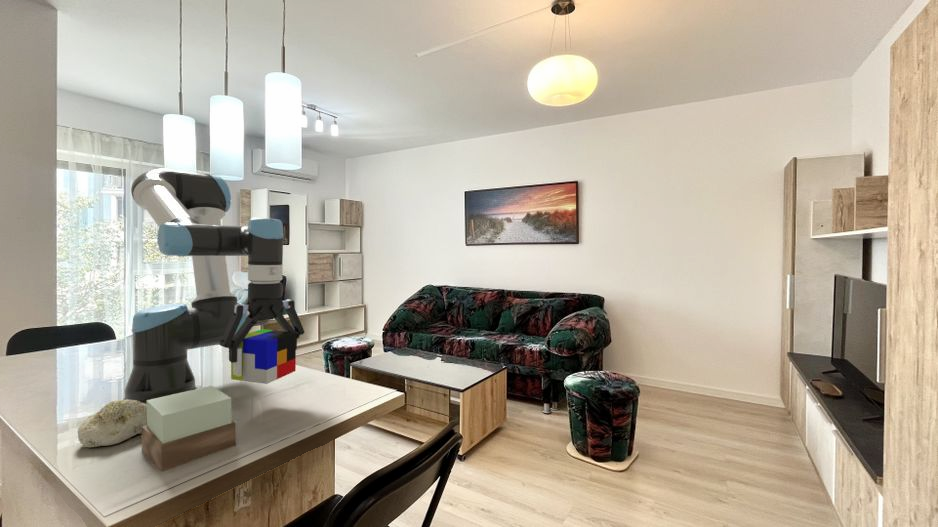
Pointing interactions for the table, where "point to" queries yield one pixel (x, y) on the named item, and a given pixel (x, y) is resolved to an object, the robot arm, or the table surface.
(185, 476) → the table surface
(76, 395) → the table surface
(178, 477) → the table surface
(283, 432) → the table surface
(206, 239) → the robot arm
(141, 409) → the decorative item
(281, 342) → the puzzle toy
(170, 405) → the sage slab
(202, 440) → the walnut slab
